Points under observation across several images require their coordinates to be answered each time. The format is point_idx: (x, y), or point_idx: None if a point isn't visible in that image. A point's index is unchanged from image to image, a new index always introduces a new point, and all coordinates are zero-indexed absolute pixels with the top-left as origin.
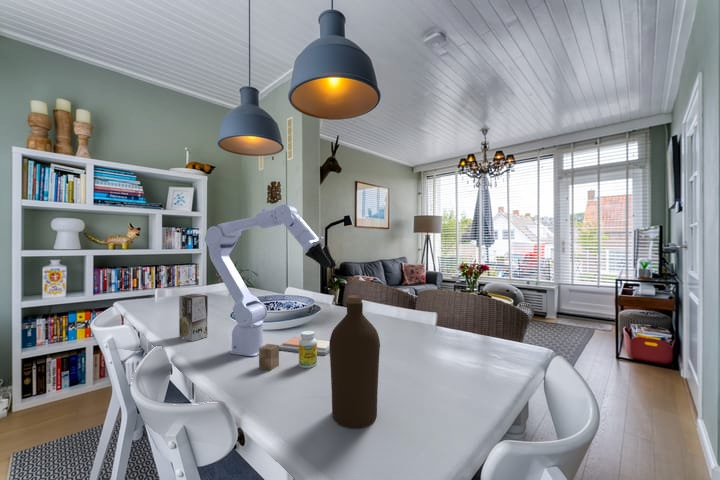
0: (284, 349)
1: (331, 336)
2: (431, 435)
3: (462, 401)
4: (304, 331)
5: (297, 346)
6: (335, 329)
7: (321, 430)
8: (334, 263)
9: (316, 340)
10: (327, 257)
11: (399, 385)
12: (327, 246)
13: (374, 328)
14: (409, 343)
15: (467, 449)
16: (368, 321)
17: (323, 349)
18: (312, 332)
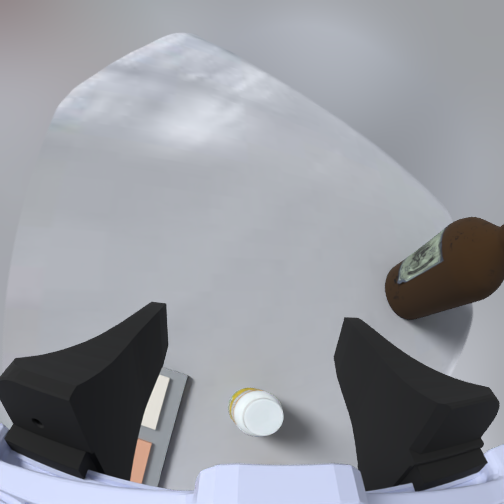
0: (159, 479)
1: (494, 291)
2: (417, 213)
3: (350, 160)
4: (253, 429)
5: (149, 452)
6: (501, 280)
7: (435, 326)
8: (160, 313)
9: (253, 392)
10: (132, 376)
11: (323, 225)
12: (55, 379)
13: (480, 218)
14: (113, 178)
15: (424, 190)
16: (490, 223)
17: (168, 383)
18: (262, 404)
